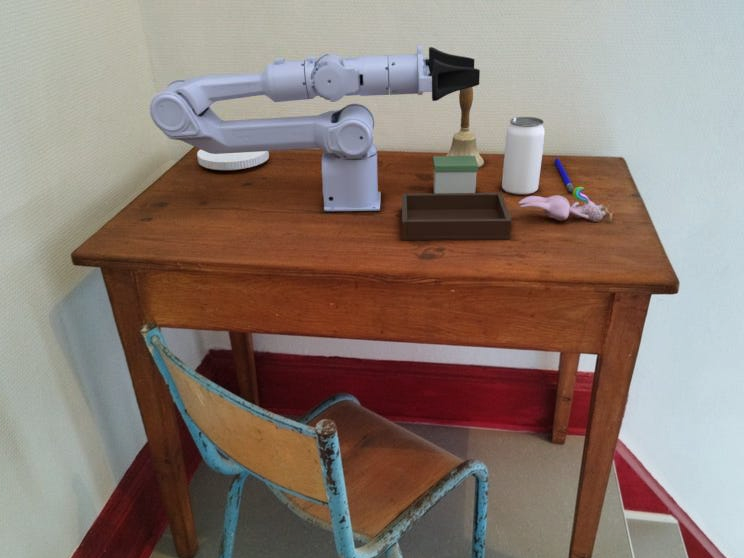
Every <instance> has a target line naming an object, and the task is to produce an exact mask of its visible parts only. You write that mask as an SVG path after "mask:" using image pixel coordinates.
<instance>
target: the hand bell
mask: <svg viewBox="0 0 744 558" xmlns="http://www.w3.org/2000/svg"><path fill="white" fill-rule="evenodd" d="M473 88H474V87H470V88H467V89H463V90H459V93H458V99H459V100H458V101H459V102H458V103H459V106H460V113H461V114H460V130H459V131H458V132H455V133H454V134H453V135H452V140H451V145H450V148H449V151H448V153H447V154H446V155H445V156H475V157H476V160H477V164H478V168H481V167H482V166H483V165H485V161H484V158H483V157H482V156H481V155H480V153H479V151H478V147H477V136H476V135H475V134H474V133H473V132H471V131H470V113H471V109H472V107H473V100H474V89H473Z"/></svg>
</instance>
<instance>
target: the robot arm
mask: <svg viewBox="0 0 744 558" xmlns="http://www.w3.org/2000/svg"><path fill="white" fill-rule="evenodd" d="M422 48H423V47H422V45H421V44H417V45H416V53H406V54H405V53H403V54H402V53H401V54H382V55H381V54H376V55H359V56H354V57H353V56H348V57H343V58H342V57H341V56H339V55H336V54H330V53H323V54H322V55H320V56H319V57H318V58H317V59H316V56H315V55H308V56H307V59H297V60H288V61H285V57H276V58H275V59H274V62H269V63H268V64H267V65H266V66H265V68H264V69H263V71H262V72H247V73H228V74H205V75H195V76H191V77H187V78H186V79H182V78H180V79H175V80H173V81H171V82H170V83H169V84H168V85H167V86H166V88H165V89H163V90H162V91H161V92H158V93H157V94H155V96H153V98H152V99H151V101H150V104H149V115H150V118H151V120H152V122H153V123H154V125H155V126H156V127H157V128H158V129H159V130H160V131H161V132H162V133H163V134H164V135H165V136H166V137H167V138H168V139H170V140H175V141H182V142H184V143H186V144H188V145H190V146H192V147H195V148H197V149H198V150H203V151H205V152H208V153H211V154H224V153H242V152H259V151H268V152H274V151H292V150H311V149H313V150H314V149H319V150H321V151H323V152H322V155H321V181H322V191H321V192H322V196H323V211H324V212H379V211H381V201H382V200H381V197H382V193H381V191H379V179H378V175H379V174H378V147H377V146H376V145H375V144H374V128H375V118H374V115H373V113H372V112H371V110H370V109H369V108H368V107H367V106H366V105H364V104H362V103H357V102H355V103H354V102H353V103H349V104H347V105H345V106H343V107H342V108H340V109H337V110H329V111H325V112H323V113H320V114H315V115H302V116H285V117H284V116H283V117H267V118H249V119H234V120H233V119H231V120H223V119H222V118H221V117H219V115H217V113H216V112H215V111H214V110H212V108H211V106H212V105H213V104H214V103H216V102H221V101H228V100H229V101H230V100H236V99H243V98H250V97H259V96H265V97H267V98H269V99H270V100H271V101H272V102H274V103H280V102H281V103H283V102H293V101H305V100H313V99H315V98H316V97H320V98H322V99H324V100H326V101H329V102H330V103H335V102H338V101H340V100H342V99H343V98H344V97H348V96H360V97H369V96H389V95H390V96H393V95H395V96H396V95H398V96H399V95H417V96H423V95H424V93H431V100H432V102H437V101H439V100H441V99H442V98H444V97H446V96H448V95H450V94H454V93H455V92H460V90H463V89H467V88H470V87H472V88H474V87H477V86H479V85H480V78H481V77H480V76H481V75H480V74H481V70H480V69H479V68H475V58H472V57H468V56H461V55H456V54H451V53H447V52H444V51H441V50H439V49H437V48H436V47H434V46H429V47H428V56H424V55H423V52H422V51H423V49H422Z"/></svg>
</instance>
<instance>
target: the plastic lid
mask: <svg viewBox="0 0 744 558" xmlns="http://www.w3.org/2000/svg"><path fill="white" fill-rule="evenodd" d="M269 152H270V151H259V152H242V153H224V154H211V153H208V152H205V151H203V150H201V149H198V151H197V152H196V157H197V162H198V164H199V165H200V166H201V167H203V168H205V169H210V170H214V171H215V170H217V171H218V170H219V171H236V170H241V169H242V170H243V169H247V168H248V169H249V168H252V167H256V166H258V165H259V166H260V165H262V164H264V163H265V162H267V161H268V160H269V158H270V153H269Z"/></svg>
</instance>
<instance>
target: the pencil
mask: <svg viewBox="0 0 744 558" xmlns="http://www.w3.org/2000/svg"><path fill="white" fill-rule="evenodd" d="M554 164H555V166H556V169H557V170H558V172H559V174H560V177H561V178H562V181H563V182H564V185H565V187H566V188H567V191H568V193H573V191H574V189H575V187H574V186H573V183H572V181H571V180H570V177H569V176H568V174H567V172H566V170H565V168H564V167H563V164H562V162H561V160H560V159H559V158H555V159H554Z"/></svg>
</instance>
